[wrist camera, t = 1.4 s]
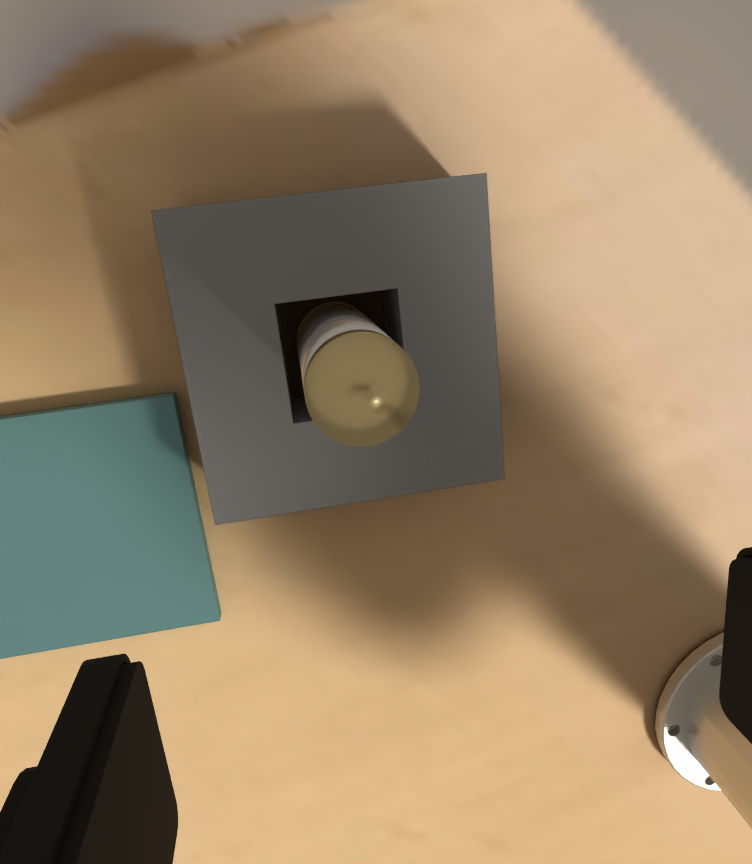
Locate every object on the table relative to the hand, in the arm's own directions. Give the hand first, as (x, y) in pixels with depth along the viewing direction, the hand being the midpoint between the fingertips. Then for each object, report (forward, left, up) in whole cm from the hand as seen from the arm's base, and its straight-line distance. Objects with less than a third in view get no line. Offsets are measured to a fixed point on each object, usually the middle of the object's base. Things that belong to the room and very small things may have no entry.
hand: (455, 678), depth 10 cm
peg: (0, -1, -26) cm, 26 cm away
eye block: (0, -1, -26) cm, 26 cm away
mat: (+15, +7, -26) cm, 30 cm away
